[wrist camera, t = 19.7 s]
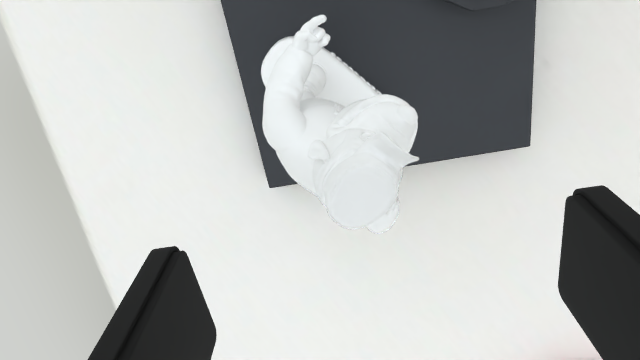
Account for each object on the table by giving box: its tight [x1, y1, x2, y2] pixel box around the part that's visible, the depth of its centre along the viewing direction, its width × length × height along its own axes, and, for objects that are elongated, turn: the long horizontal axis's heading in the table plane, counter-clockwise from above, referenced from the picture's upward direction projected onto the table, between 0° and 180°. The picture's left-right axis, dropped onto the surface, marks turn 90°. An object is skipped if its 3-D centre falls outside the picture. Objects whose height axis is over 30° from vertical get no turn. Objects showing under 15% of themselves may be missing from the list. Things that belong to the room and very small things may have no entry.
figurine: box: [261, 15, 419, 234], centre depth 19 cm, size 9×7×12 cm
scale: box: [221, 0, 536, 188], centre depth 24 cm, size 16×14×4 cm
